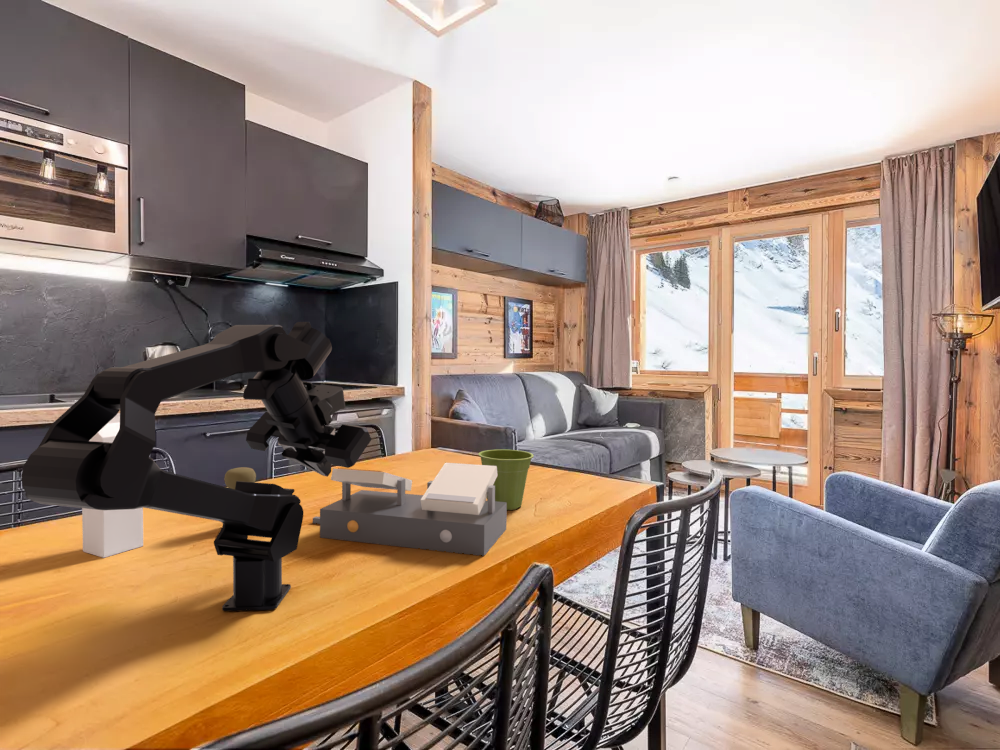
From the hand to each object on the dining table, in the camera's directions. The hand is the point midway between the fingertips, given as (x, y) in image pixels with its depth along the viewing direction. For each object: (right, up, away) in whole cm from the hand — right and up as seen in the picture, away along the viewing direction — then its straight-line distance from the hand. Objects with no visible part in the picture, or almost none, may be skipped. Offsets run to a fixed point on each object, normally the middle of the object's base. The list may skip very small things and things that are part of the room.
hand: (327, 474), depth 84 cm
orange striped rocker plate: (+4, -4, +14) cm, 15 cm away
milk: (-36, -13, +2) cm, 38 cm away
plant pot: (+28, -13, +30) cm, 43 cm away
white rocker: (+20, -4, +9) cm, 23 cm away
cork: (-20, -13, +14) cm, 28 cm away
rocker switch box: (+9, -13, +12) cm, 20 cm away
